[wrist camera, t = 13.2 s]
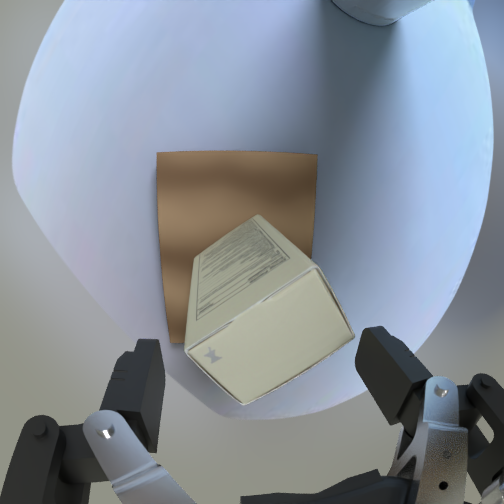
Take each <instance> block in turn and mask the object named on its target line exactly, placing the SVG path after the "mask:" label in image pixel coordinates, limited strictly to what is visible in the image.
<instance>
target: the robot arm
mask: <svg viewBox="0 0 504 504" xmlns="http://www.w3.org/2000/svg"><path fill="white" fill-rule="evenodd" d="M332 1H333V2H334V3H335V4H336V5H337V6H338V7H339V8H340V9H341V10H343V11H344V12H346V13H347V14H349V15H350V16H352V17H354V18H356V19H358V20H360V21H362V22H365V23H367V24H372V25H377V26H385V25H390V24H392V23H393V22H395V21H397V20H399V19H400V18H402V17H404V16H406V15H407V14H409V13H411V12H413V11H415V10H417V9H418V8H420V7H422V6H424V5H426V4H428V3H430V2H432V1H434V0H332ZM355 367H356V370H357V372H358V374H359V375H360V377H361V379H362V380H363V382H364V383H365V385H366V387H367V388H368V390H369V392H370V393H371V395H372V396H373V398H374V400H375V401H376V403H377V405H378V406H379V408H380V410H381V411H382V413H383V415H384V416H385V418H386V419H387V421H388V423H389V424H390V425H394V424H397V423H399V422H401V423H402V425H403V426H402V428H401V430H400V433H399V438H398V442H397V447H396V451H395V455H394V459H393V462H392V466H391V468H390V470H389V472H388V474H387V476H380V473H379V472H378V469H375V470H372V471H369V472H366V473H363V474H360V475H357V476H353V477H350V478H347V479H345V480H343V481H341V482H339V483H338V484H335V485H334V486H331V487H330V488H327V489H325V490H323V491H321V492H319V493H315V494H294V493H271V494H263V495H253V496H241V499H240V501H241V502H240V504H471V503H468V502H465V501H464V494H465V485H466V475H467V472H468V474H469V475H470V477H471V479H472V481H473V482H474V484H475V486H476V488H477V489H478V491H479V493H480V495H481V497H482V498H481V502H480V503H479V504H504V389H503V388H502V387H501V386H500V385H499V384H498V382H497V381H496V380H495V379H494V378H493V377H491V376H489V375H487V374H481V373H480V374H476V375H475V376H474V377H473V378H472V380H471V382H470V384H469V385H458V386H456V384H455V383H454V382H453V381H451V380H450V379H448V378H446V377H443V376H434V377H433V375H432V374H431V373H430V372H429V371H428V370H427V369H426V367H425V366H424V365H423V364H422V363H421V362H420V361H419V360H418V359H417V357H415V356H414V354H413V353H412V352H411V350H410V351H409V348H408V347H407V346H406V345H405V344H404V343H403V342H402V341H401V340H399V339H397V338H396V337H394V336H391V335H390V334H389V333H388V331H387V330H386V329H385V328H384V327H383V326H377V327H370V328H365V329H364V330H363V332H362V335H361V339H360V342H359V346H358V350H357V353H356V357H355ZM164 389H165V369H164V364H163V359H162V354H161V348H160V343H159V340H158V339H138V341H137V344H136V347H135V350H134V352H128V351H126V352H125V353H124V354H123V355H122V356H121V357H119V358H118V360H117V362H116V364H115V367H114V372H112V375H111V380H110V381H109V383H108V387H107V389H106V392H105V395H104V398H103V401H102V404H101V407H100V410H99V411H97V412H94V413H92V414H91V415H90V416H88V417H87V419H86V420H85V422H84V423H83V424H79V425H68V426H59V425H58V424H57V422H56V421H55V420H54V419H53V418H51V417H49V416H45V415H38V416H34V417H32V418H31V419H29V420H28V421H27V422H26V423H25V425H24V427H23V429H22V431H21V434H20V437H19V439H18V442H17V445H16V447H15V450H14V453H13V456H12V459H11V462H10V465H9V468H8V471H7V474H6V478H5V482H4V485H3V489H2V492H1V496H0V504H88V502H89V494H90V486H91V482H102V481H110V482H111V484H112V488H113V490H114V492H115V493H116V495H117V496H118V498H119V499H120V501H121V502H122V504H197V503H195V501H194V500H193V499H192V498H190V496H189V495H188V494H187V493H186V492H185V491H184V490H183V489H182V488H181V487H180V486H179V484H177V482H176V481H175V480H174V479H173V478H172V477H171V475H170V474H169V473H168V472H167V471H166V470H165V469H164V468H163V467H162V466H161V465H158V464H157V463H156V462H155V461H154V459H153V458H152V457H151V456H150V454H149V453H148V452H150V453H157V444H158V435H159V427H160V418H161V411H162V403H163V396H164ZM482 416H483V417H484V419H485V420H486V421H487V423H488V424H489V425H490V427H491V428H492V430H493V432H494V438H493V441H492V442H491V443H489V442H488V441H487V439H486V438H485V436H484V435H483V433H482V432H481V431H480V429H479V428H478V426H477V425H476V424H477V422H478V421H479V419H480V418H481V417H482Z"/></svg>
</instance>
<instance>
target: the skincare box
mask: <svg viewBox="0 0 504 504" xmlns="http://www.w3.org/2000/svg"><path fill="white" fill-rule="evenodd" d="M354 338H355V334H354V332H353V330H352V328H351V326H350V324H349V322H348V320H347V317H346V315H345V313H344V311H343V309H342V307H341V305H340V303H339V301H338V299H337V297H336V296H335V294H334V292H333V290H332V288H331V286H330V284H329V283H328V281H327V279H326V277H325V276H324V274H323V272H322V270H321V269H320V267H319V266H318V265H316V264H315V263H314V262H313V261H312V260H311V259H310V258H308V257H307V256H306V255H305V254H304V253H303V252H302V251H301V250H300V249H298V248H297V247H296V246H295V245H294V244H293V243H292V242H290V241H289V240H288V239H287V238H286V237H285V236H284V235H282V234H281V233H280V232H279V231H278V230H277V229H276V228H274V227H273V226H272V225H271V224H270V223H269V222H268V221H266V220H265V219H264V218H263V217H262V216H261V215H255V216H254V217H252V218H251V219H249V220H247V221H246V222H244V223H243V224H241V225H240V226H238V227H237V228H235V229H234V230H232V231H231V232H229V233H228V234H226V235H225V236H223V237H222V238H221V239H219V240H218V241H216V242H215V243H214V244H212V245H211V246H209V247H208V248H207V249H205V250H204V251H203V252H201V253H200V254H199V255H197V256H196V257H195V258H194V262H193V270H192V278H191V286H190V296H189V304H188V313H187V324H186V334H185V345H184V352H185V354H186V355H187V356H188V357H189V358H190V359H191V360H193V362H194V363H195V364H196V365H197V366H198V367H199V368H200V369H201V370H202V371H203V372H204V373H205V374H206V375H207V376H208V377H209V378H211V379H212V380H213V381H214V382H215V383H216V384H217V385H218V386H219V387H220V388H221V389H222V390H224V391H225V392H226V393H227V394H228V395H229V396H230V397H232V398H233V399H235V400H236V401H237V402H238V403H240V404H241V405H247V404H249V403H251V402H253V401H255V400H258V399H259V398H261V397H263V396H265V395H267V394H269V393H271V392H273V391H275V390H276V389H279V388H280V387H282V386H283V385H285V384H287V383H289V382H290V381H292V380H294V379H295V378H297V377H299V376H300V375H302V374H303V373H305V372H307V371H308V370H310V369H311V368H313V367H314V366H316V365H317V364H319V363H320V362H322V361H323V360H325V359H326V358H328V357H329V356H331V355H332V354H333V353H335V352H336V351H338V350H339V349H340V348H342V347H343V346H344V345H346V344H347V343H349V342H350V341H351V340H353V339H354Z"/></svg>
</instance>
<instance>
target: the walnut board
mask: <svg viewBox="0 0 504 504" xmlns="http://www.w3.org/2000/svg"><path fill="white" fill-rule="evenodd" d="M317 156H318V155H316V154H303V153H287V152H266V151H179V152H158V153H157V204H158V226H159V242H160V256H161V268H162V278H163V288H164V298H165V306H166V314H167V322H168V329H169V336H170V343H185V334H186V324H187V313H188V304H189V296H190V286H191V278H192V270H193V262H194V258H195V257H196V256H197V255H199V254H200V253H201V252H203V251H204V250H205V249H207V248H208V247H209V246H211V245H212V244H214V243H215V242H216V241H218V240H219V239H221V238H222V237H223V236H225V235H226V234H228V233H229V232H231V231H232V230H234V229H235V228H237V227H238V226H240V225H241V224H243V223H244V222H246V221H247V220H249V219H251V218H252V217H254V216H255V215H261V216H262V217H263V218H264V219H265V220H266V221H268V222H269V223H270V224H271V225H272V226H273V227H274V228H276V229H277V230H278V231H279V232H280V233H281V234H282V235H284V236H285V237H286V238H287V239H288V240H289V241H290V242H292V243H293V244H294V245H295V246H296V247H297V248H298V249H300V250H301V251H302V252H303V253H304V254H305V255H306V256H307V257H308V258H310V259H311V255H312V243H313V230H314V216H315V199H316V181H317Z"/></svg>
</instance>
